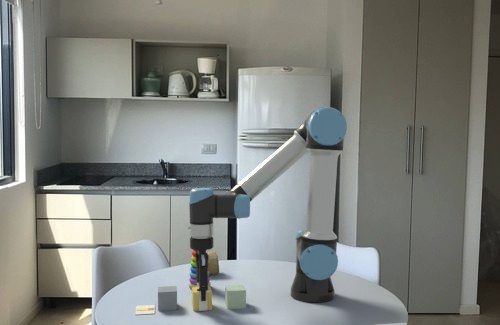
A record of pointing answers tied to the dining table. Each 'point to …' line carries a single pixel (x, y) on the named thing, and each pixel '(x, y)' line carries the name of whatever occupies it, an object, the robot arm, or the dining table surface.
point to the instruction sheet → (145, 309)
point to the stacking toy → (195, 272)
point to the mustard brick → (196, 298)
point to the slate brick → (167, 298)
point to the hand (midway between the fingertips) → (202, 306)
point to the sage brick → (235, 296)
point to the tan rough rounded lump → (213, 263)
